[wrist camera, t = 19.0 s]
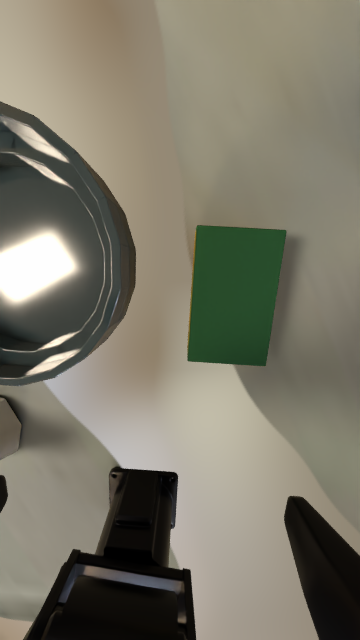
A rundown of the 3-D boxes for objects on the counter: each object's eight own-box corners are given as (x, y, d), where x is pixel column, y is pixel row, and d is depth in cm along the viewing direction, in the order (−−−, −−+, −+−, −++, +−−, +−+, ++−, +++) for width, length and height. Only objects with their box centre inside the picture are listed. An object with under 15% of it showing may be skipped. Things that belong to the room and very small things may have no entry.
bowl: (136, 364, 19) (121, 393, 15) (-49, 353, 19) (-119, 377, 15) (138, 148, 15) (119, 100, 11) (-89, 138, 16) (-196, 87, 11)
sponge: (253, 351, 18) (266, 366, 15) (187, 347, 19) (187, 361, 16) (269, 237, 16) (287, 229, 13) (195, 232, 17) (196, 225, 14)
